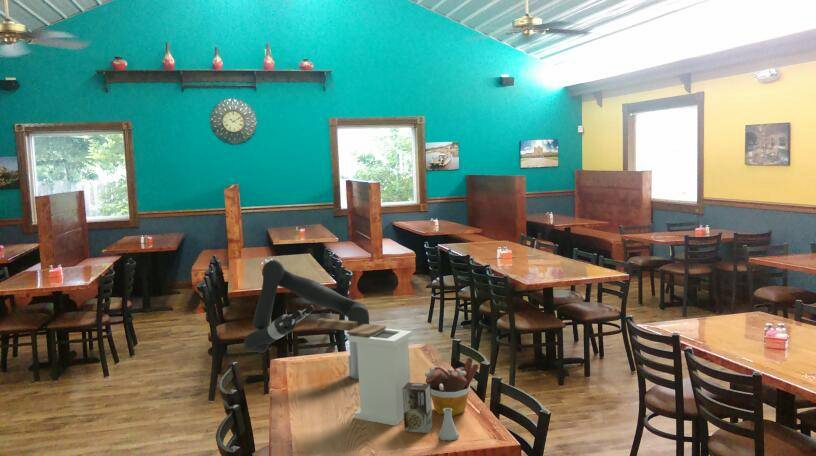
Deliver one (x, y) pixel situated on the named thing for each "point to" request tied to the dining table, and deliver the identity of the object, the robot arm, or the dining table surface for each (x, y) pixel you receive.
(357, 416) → the display stand
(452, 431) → the flask
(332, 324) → the wooden cutting board
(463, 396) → the bucket of meat
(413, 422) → the coffee box
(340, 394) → the dining table surface
